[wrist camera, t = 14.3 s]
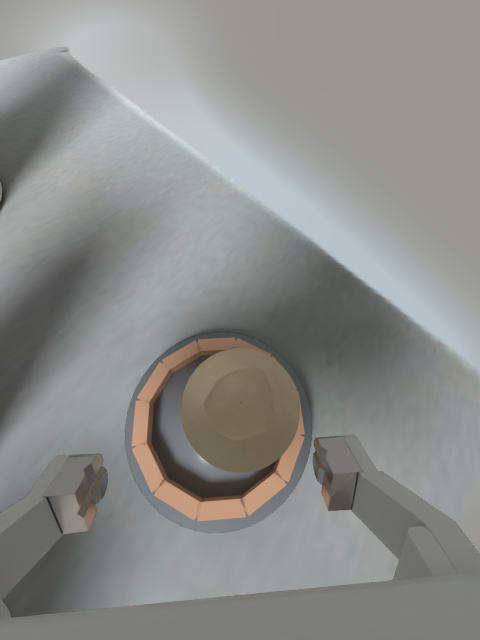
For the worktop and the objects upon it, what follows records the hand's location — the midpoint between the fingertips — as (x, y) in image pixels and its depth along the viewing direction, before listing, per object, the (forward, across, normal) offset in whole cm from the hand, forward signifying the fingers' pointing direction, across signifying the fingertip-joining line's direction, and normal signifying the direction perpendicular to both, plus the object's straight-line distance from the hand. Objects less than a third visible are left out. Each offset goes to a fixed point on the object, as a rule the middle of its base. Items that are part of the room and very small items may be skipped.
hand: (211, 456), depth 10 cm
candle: (+8, -1, +6) cm, 10 cm away
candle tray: (+9, 0, +6) cm, 11 cm away
